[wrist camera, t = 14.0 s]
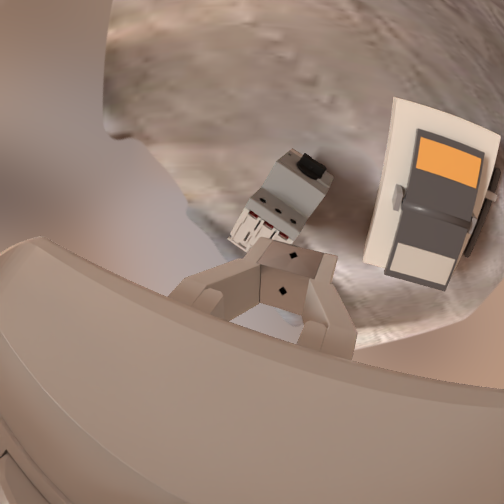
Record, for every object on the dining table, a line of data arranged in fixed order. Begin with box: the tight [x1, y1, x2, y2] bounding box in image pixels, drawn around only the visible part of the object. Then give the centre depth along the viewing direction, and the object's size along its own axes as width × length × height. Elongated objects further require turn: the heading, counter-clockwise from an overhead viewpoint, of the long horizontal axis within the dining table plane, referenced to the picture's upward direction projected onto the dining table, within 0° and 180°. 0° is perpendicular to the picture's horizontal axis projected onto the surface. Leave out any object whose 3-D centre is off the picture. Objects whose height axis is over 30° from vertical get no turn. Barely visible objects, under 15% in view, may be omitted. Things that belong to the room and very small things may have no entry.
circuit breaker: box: [228, 148, 334, 252], centre depth 40 cm, size 8×14×15 cm, turn 154°
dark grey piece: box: [464, 161, 501, 257], centre depth 32 cm, size 19×3×2 cm, turn 0°
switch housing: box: [363, 97, 501, 274], centre depth 33 cm, size 26×16×10 cm, turn 0°
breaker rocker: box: [384, 128, 485, 291], centre depth 29 cm, size 20×10×2 cm, turn 0°
